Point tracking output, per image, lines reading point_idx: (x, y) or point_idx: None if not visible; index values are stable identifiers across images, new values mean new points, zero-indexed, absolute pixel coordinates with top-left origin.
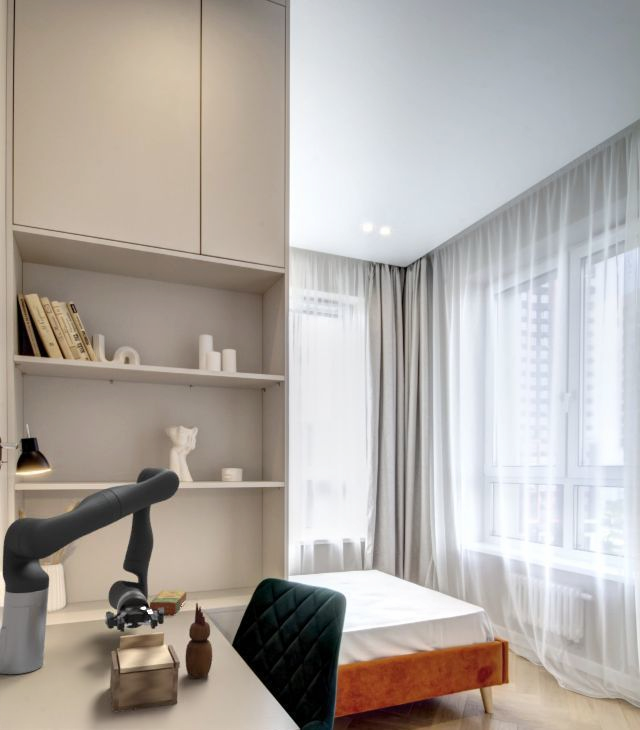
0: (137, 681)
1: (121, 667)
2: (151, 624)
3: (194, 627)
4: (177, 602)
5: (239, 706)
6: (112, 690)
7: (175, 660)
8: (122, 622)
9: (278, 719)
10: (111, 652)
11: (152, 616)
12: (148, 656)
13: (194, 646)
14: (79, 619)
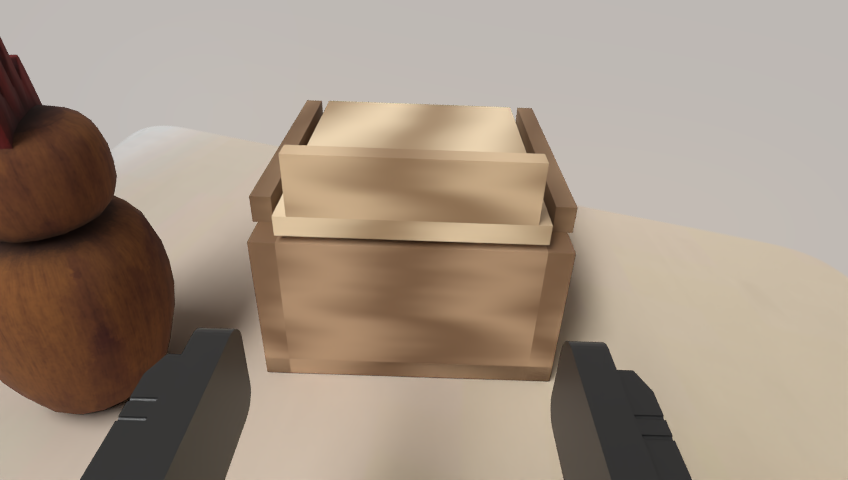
0: None
1: (507, 111)
2: (224, 438)
3: (90, 120)
4: None
5: (177, 175)
6: None
7: (316, 106)
8: (589, 343)
9: (151, 130)
10: (574, 205)
11: (168, 429)
12: (402, 140)
13: (129, 204)
14: None
